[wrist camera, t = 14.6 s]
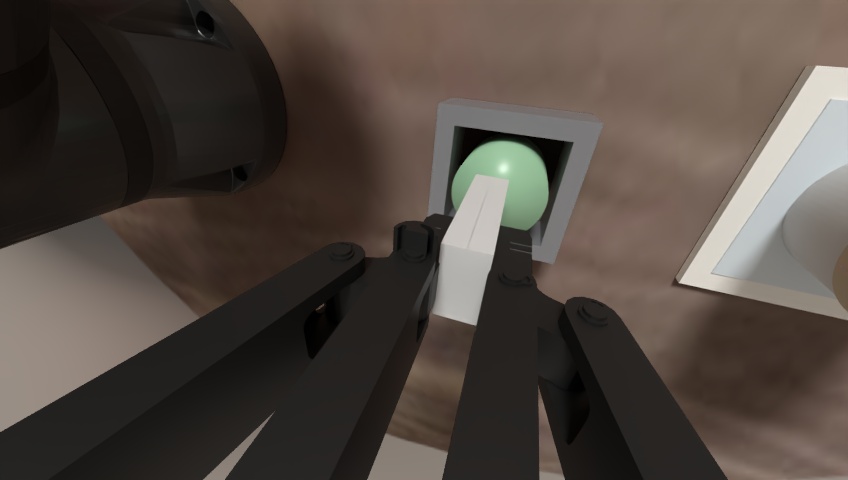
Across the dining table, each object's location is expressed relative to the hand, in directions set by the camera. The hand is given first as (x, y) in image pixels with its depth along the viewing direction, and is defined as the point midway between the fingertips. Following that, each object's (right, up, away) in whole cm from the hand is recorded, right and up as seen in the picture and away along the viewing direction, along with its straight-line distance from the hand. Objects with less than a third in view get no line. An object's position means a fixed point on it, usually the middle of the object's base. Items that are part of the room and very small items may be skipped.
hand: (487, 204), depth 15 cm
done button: (+2, +3, +5) cm, 6 cm away
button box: (+2, +3, +6) cm, 7 cm away
